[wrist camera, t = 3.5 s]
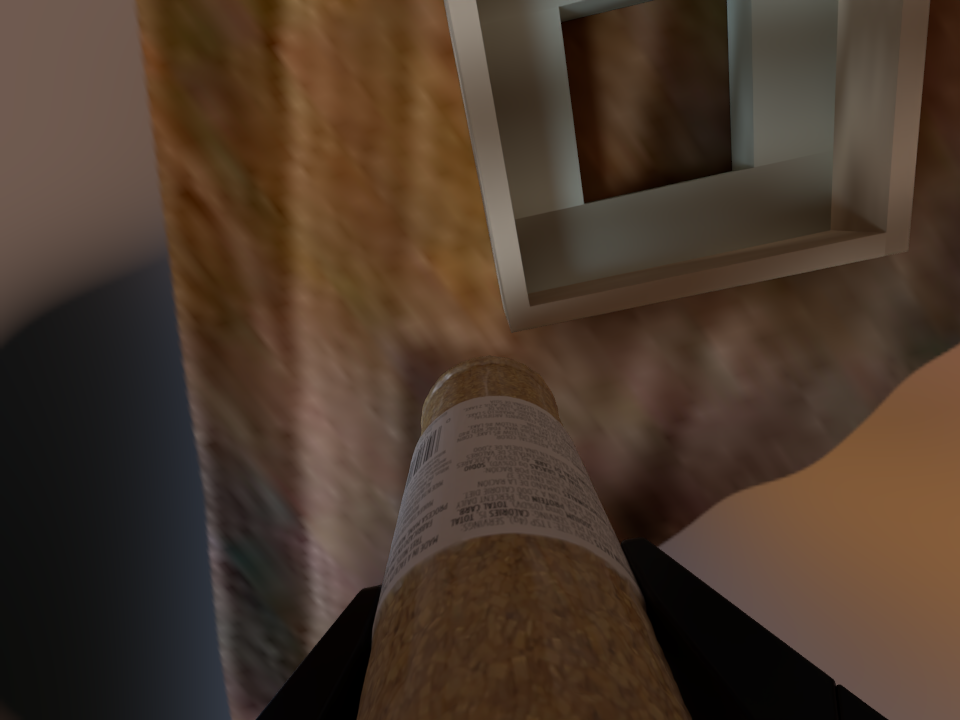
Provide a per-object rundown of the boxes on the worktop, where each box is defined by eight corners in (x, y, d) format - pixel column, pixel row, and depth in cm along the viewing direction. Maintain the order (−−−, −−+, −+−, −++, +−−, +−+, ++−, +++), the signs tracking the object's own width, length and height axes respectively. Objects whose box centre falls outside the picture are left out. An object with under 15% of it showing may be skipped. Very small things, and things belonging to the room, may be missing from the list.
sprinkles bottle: (500, 497, 16) (625, 1641, 3) (394, 427, 15) (-40, 1653, 2) (586, 402, 15) (1291, 1550, 2) (476, 321, 14) (553, 1508, 1)
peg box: (822, 244, 19) (908, 251, 16) (504, 310, 20) (511, 332, 16) (834, -176, 15) (956, -309, 11) (429, -75, 16) (415, -168, 12)
